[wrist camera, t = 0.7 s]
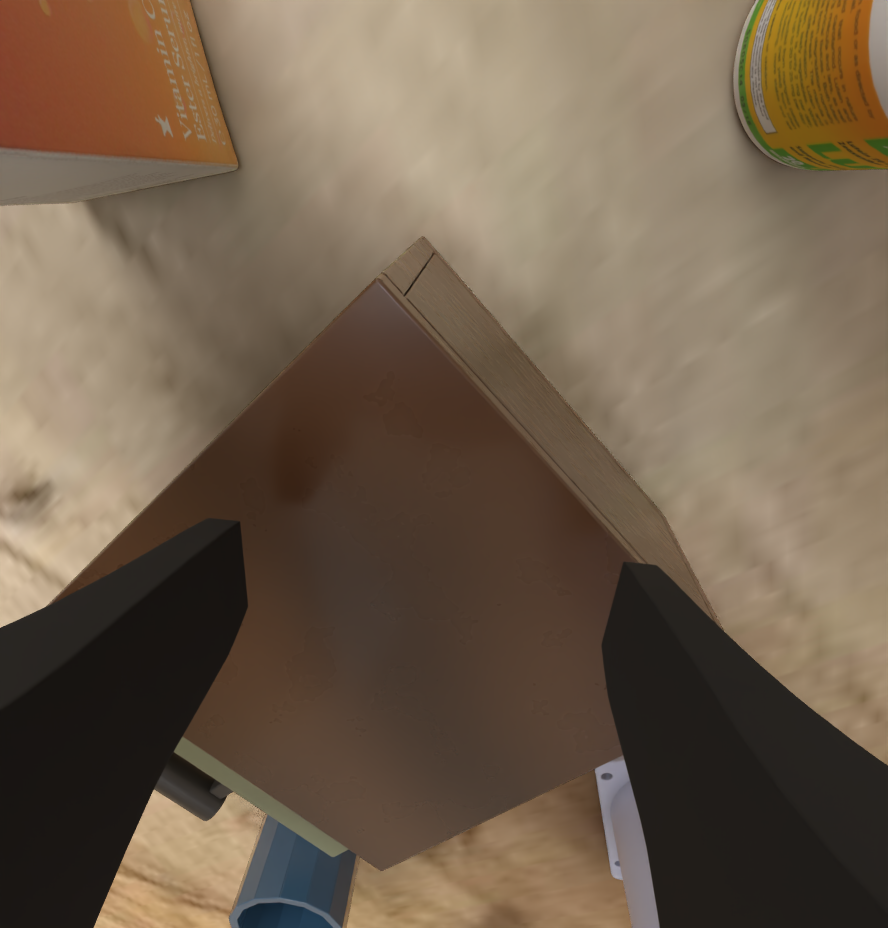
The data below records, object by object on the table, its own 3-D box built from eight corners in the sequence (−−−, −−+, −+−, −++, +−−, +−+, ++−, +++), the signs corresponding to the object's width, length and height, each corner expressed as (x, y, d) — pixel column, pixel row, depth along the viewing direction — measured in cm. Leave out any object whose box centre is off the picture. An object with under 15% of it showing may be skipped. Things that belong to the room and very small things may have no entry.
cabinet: (411, 677, 26) (381, 872, 19) (175, 480, 22) (22, 629, 15) (665, 516, 22) (756, 692, 14) (423, 235, 18) (377, 276, 10)
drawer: (297, 748, 28) (245, 903, 22) (83, 593, 24) (-48, 728, 18) (595, 560, 22) (634, 703, 16) (367, 318, 18) (308, 387, 12)
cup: (377, 845, 32) (358, 958, 27) (286, 850, 33) (252, 961, 28) (349, 783, 30) (324, 895, 25) (252, 791, 31) (210, 901, 26)
